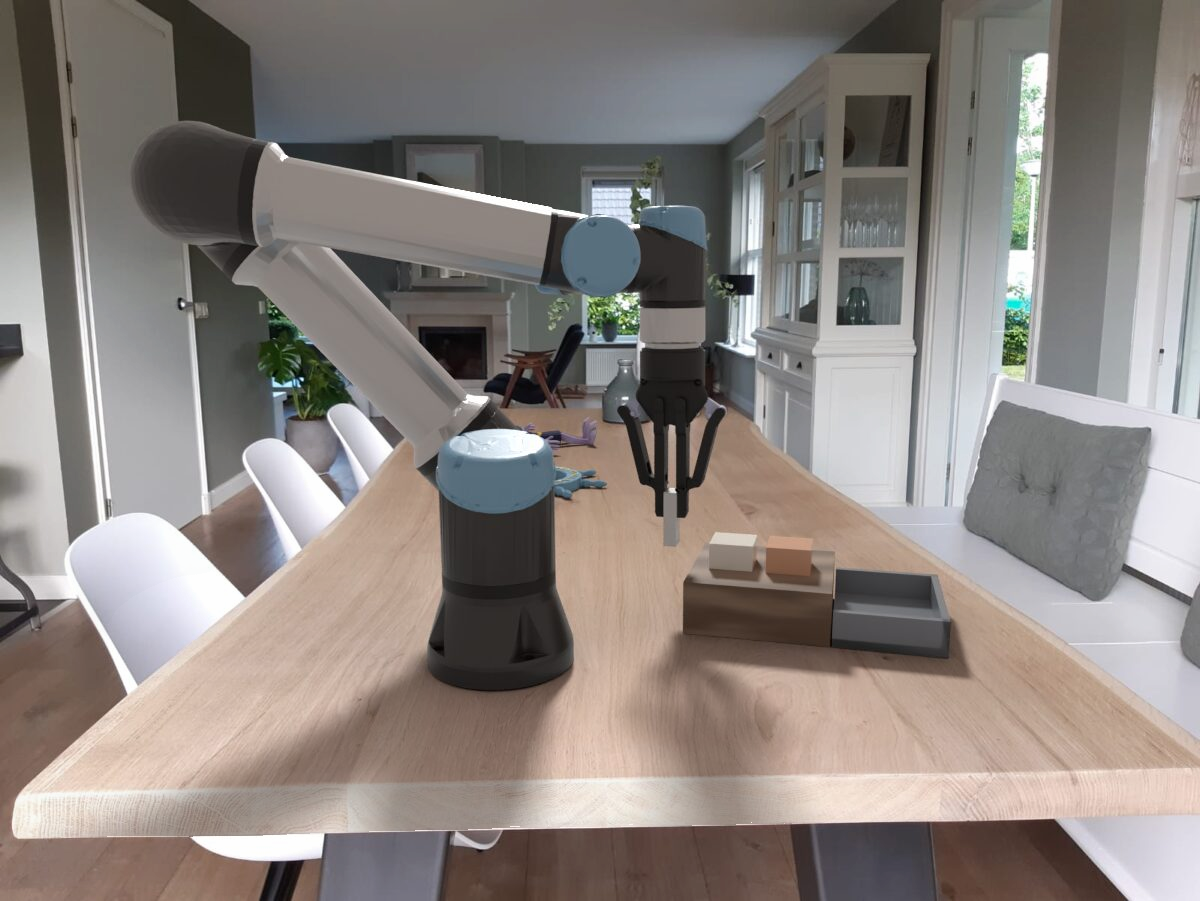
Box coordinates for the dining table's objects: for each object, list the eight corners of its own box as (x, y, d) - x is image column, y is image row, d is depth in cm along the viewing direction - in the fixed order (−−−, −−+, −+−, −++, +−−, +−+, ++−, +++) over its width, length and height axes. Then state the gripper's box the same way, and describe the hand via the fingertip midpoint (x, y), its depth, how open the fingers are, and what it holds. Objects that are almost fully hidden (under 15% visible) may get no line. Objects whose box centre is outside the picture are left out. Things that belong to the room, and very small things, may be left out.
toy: (609, 425, 211) (480, 417, 201) (605, 465, 212) (476, 459, 203) (577, 410, 235) (461, 403, 226) (574, 446, 237) (458, 440, 227)
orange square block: (810, 576, 103) (811, 550, 103) (765, 572, 105) (766, 547, 104) (812, 563, 108) (813, 538, 107) (769, 560, 109) (769, 535, 109)
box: (948, 658, 95) (950, 621, 95) (831, 647, 98) (833, 611, 98) (935, 606, 111) (937, 574, 110) (834, 598, 114) (835, 567, 113)
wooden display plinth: (829, 647, 99) (831, 593, 97) (682, 633, 103) (683, 581, 102) (833, 598, 114) (835, 551, 113) (704, 587, 118) (705, 542, 117)
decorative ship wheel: (482, 454, 195) (621, 458, 189) (483, 468, 196) (621, 474, 190) (428, 484, 166) (590, 491, 160) (429, 501, 167) (590, 508, 161)
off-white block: (752, 571, 105) (752, 546, 104) (708, 568, 106) (709, 543, 106) (756, 559, 110) (757, 534, 109) (714, 556, 111) (715, 532, 110)
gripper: (733, 343, 107) (730, 538, 112) (624, 342, 111) (626, 531, 115) (724, 348, 100) (721, 556, 104) (609, 347, 103) (611, 548, 108)
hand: (671, 543), depth 110 cm, fingers closed
